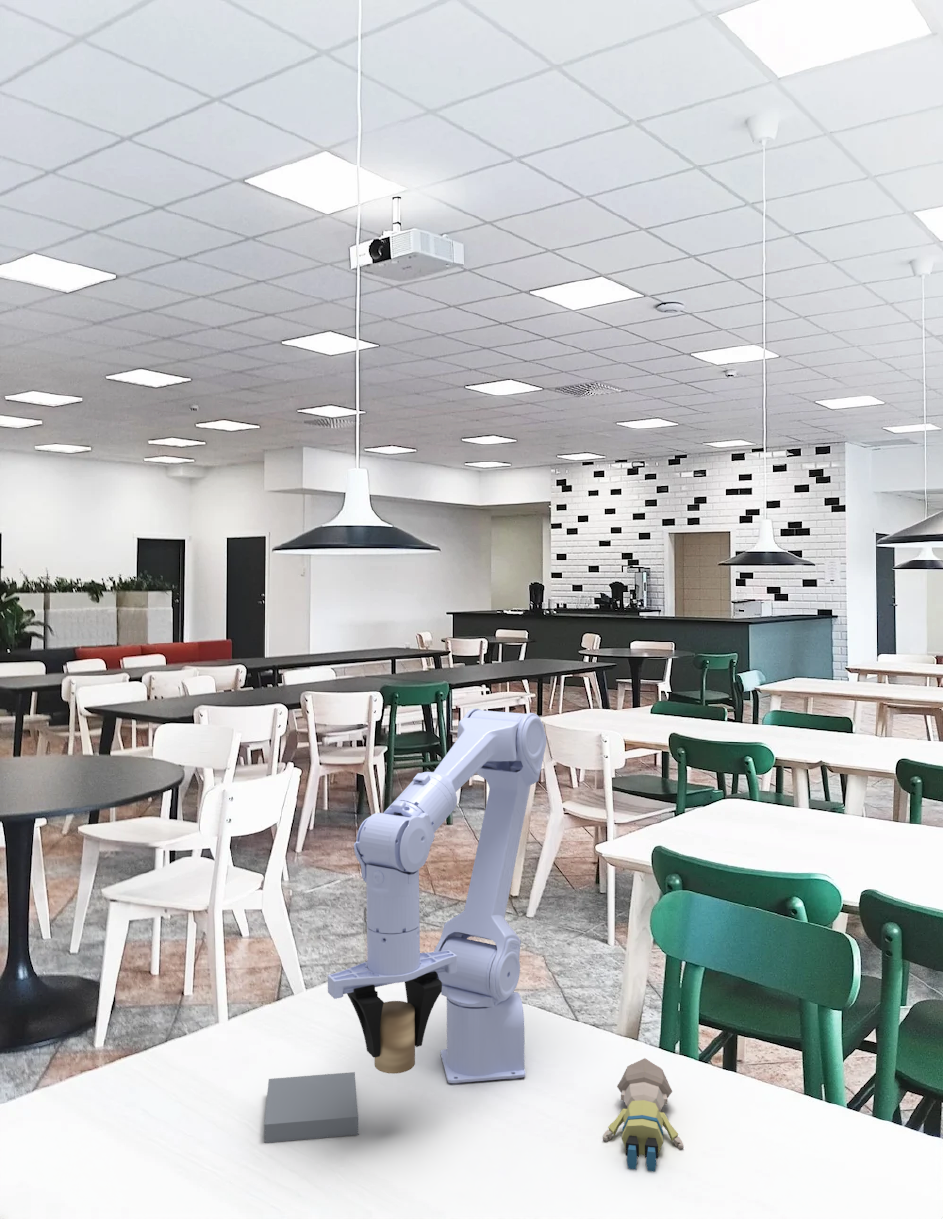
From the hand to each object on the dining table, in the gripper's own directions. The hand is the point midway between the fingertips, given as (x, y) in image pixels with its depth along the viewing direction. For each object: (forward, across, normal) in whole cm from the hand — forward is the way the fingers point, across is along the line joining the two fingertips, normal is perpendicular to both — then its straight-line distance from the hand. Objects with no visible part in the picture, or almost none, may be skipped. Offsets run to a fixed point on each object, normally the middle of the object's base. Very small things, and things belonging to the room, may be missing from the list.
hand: (394, 1047), depth 111 cm
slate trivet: (+9, +7, -8) cm, 14 cm away
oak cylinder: (+2, 0, 0) cm, 2 cm away
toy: (+10, -24, +13) cm, 29 cm away
